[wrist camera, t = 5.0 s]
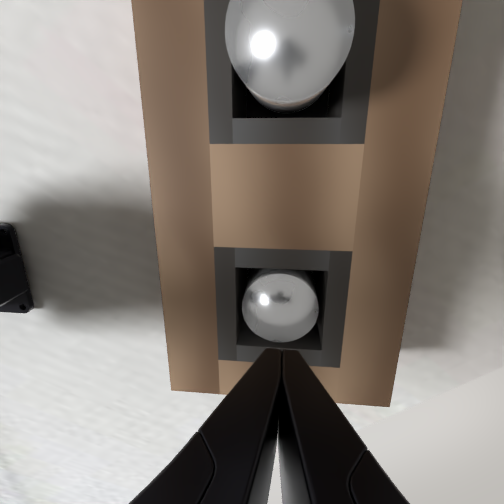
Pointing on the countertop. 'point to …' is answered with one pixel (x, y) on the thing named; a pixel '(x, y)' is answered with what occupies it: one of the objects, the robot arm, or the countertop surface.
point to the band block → (291, 190)
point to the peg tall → (280, 303)
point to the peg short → (288, 48)
